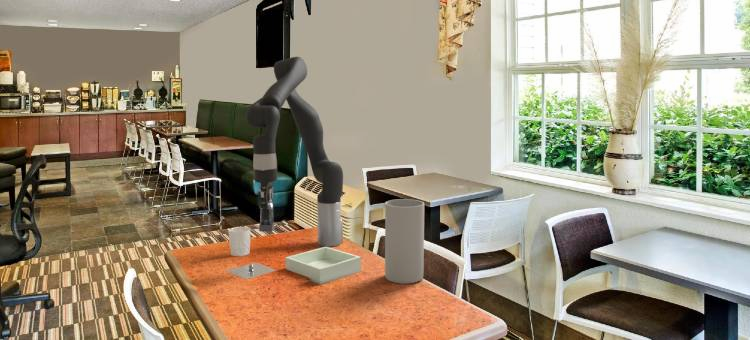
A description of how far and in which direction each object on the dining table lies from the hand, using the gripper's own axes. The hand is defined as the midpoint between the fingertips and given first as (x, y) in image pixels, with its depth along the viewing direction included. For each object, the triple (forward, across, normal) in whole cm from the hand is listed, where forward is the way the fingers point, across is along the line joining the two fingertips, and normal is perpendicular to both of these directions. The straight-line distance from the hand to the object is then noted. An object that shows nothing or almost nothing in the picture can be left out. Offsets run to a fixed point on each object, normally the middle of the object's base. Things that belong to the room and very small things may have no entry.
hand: (267, 217), depth 178 cm
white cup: (+19, -19, -14) cm, 30 cm away
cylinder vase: (+19, +6, +45) cm, 49 cm away
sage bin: (+19, -1, +18) cm, 26 cm away
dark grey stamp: (+4, 0, 0) cm, 4 cm away
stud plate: (+19, +1, -6) cm, 20 cm away
